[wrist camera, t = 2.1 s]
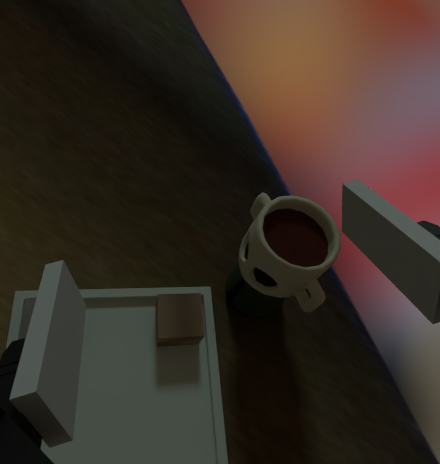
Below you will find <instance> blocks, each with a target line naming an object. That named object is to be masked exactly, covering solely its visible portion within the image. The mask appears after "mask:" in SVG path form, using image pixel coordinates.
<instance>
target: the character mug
mask: <svg viewBox="0 0 440 464" xmlns="http://www.w3.org/2000/svg"><path fill="white" fill-rule="evenodd" d="M251 215H252V217H253V219H254V222H253V223H252V224H251V226H250V228H249V230H248V232H247V234H246V235H245V237H244V238H243V240H242V243H241V246H240V251H239V262H238V263H237V265H236V266H235V267H234V268H233V269H232V271H231V273H230V275H229V277H228V278H227V284H226V292H227V294H229V292H230V291H231V290H232V289H233V292H234V295H235V298H234V299H233V300H232V302H231V303H232V305H233V306H234V307H235V308H236V309H238V310H239V311H240V312H241V313H242V314H245V315H249V316H252V317H255V318H256V317H262V316H267V315H270V314H271V313H272V312H274V311H275V310H276V309H278V308H279V307H280V305H281V304H282V302H283V301H284V299H285V297H290V296H295V297H296V299H297V300H298V302H299V304H300V306H301V308H302V309H303V310H304V312H312V311H313V310H315V309H316V308H317V307H319V306H320V305H321V304H322V303H323V302H324V301H325V298H326V297H325V294H324V292H323V290H322V288H321V286H320V285H319V283H318V281H317V278H318V277H319V276H320V275H322V274H323V273H324V272H325V271H326V270H327V269H328V268H329V267H330V266H332V264H333V263H334V262H335V260H336V258H337V255H338V253H339V251H340V233H339V231H338V228H337V226H336V224H335V221H334V220H333V219H332V218H331V216H330V215H329V214H328V213H327V212H326V211H325V210H324V209H323V208H322V207H320V206H319V205H317V204H315V203H314V202H312V201H311V200H308V199H304V198H301V197H297V196H282V197H278V198H276V199H274V200H272V201H271V200H270V198H269V196H268V195H267V194H266V193H261V194H260V195H259V196H258V197H257V198H256V200H255V202H254V204H253V206H252V208H251ZM306 288H308V290H309V292H310V294H311V296H312V297H310V298H309V297H308V295H307V293H306V291H305V289H306Z"/></svg>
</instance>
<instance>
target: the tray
mask: <svg viewBox="0 0 440 464" xmlns="http://www.w3.org/2000/svg"><path fill="white" fill-rule="evenodd" d="M79 292H80V294H81V296H82V297H83V299H84V301H85V303H86V314H85V324H84V334H83V344H82V354H81V364H80V374H79V384H78V395H77V405H76V415H75V425H74V435H73V441H70V442H67V443H63V444H60V445H57V446H54V447H51V448H49V447H48V446H47V444H46V443H45V442H44V441H43V440H42V443H41V450H42V451H43V452H44V454H45V455H46V456H47V457H48V458H49V459H50V460H51V461H52V462H53V463H54V464H228V458H227V448H226V438H225V428H224V418H223V408H222V398H221V388H220V378H219V368H218V357H217V347H216V337H215V327H214V317H213V307H212V297H211V287H176V288H131V289H87V290H79ZM185 293H201V300H202V311H203V323H204V335H205V336H204V338H203V339H202V341H201V342H200V343H199V344H193V345H176V346H159V347H157V345H156V300H157V295H158V294H185ZM37 295H38V291H15V297H14V303H13V309H12V315H11V322H10V328H9V334H8V340H7V346H6V349H7V347H8V346H9V345H10V343H11V342H12V341H16V340H19V338H20V331H21V325H22V318H23V311H24V305H25V298H33V297H37Z"/></svg>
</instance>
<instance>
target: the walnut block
mask: <svg viewBox="0 0 440 464" xmlns="http://www.w3.org/2000/svg"><path fill="white" fill-rule="evenodd" d="M204 336H205V335H204V323H203V311H202V300H201V293H185V294H158V295H157V300H156V345H157V347H159V346H176V345H193V344H199V343H200V342H201V341H202V339H203V338H204Z"/></svg>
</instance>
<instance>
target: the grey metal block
mask: <svg viewBox="0 0 440 464" xmlns="http://www.w3.org/2000/svg"><path fill="white" fill-rule="evenodd" d="M36 298H37V297H33V298H25V305H24V311H23V318H22V325H21V331H20V338H19V339H23V338H26V335H27V332H28V328H29V324H30V321H31V317H32V313H33V309H34V306H35V302H36Z"/></svg>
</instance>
